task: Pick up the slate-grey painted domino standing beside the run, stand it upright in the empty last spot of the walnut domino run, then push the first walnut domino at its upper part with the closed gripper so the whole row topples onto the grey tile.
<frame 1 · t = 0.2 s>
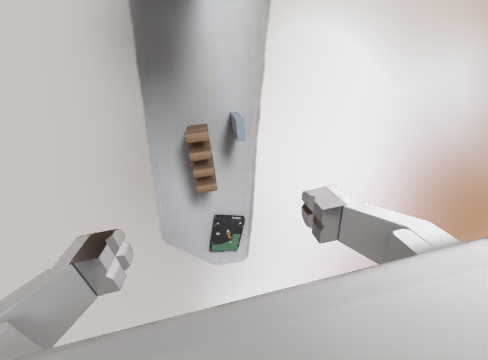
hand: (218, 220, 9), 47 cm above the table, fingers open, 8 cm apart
domino 4: (206, 172, 59), on the table
disk drive: (226, 230, 71), on the table
domino 1: (198, 128, 52), on the table
domino 3: (203, 158, 57), on the table
end domino: (234, 121, 53), on the table
domino 2: (201, 144, 55), on the table
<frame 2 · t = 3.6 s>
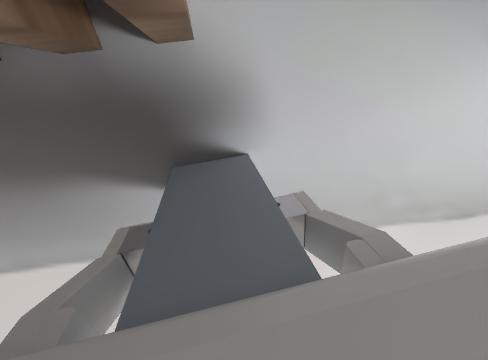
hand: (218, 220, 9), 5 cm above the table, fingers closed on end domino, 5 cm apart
end domino: (213, 172, 13), on the table, touching gripper
when the fingers open (6 cm above the table, at t = 10.1 s): end domino stays where it is, on the table.
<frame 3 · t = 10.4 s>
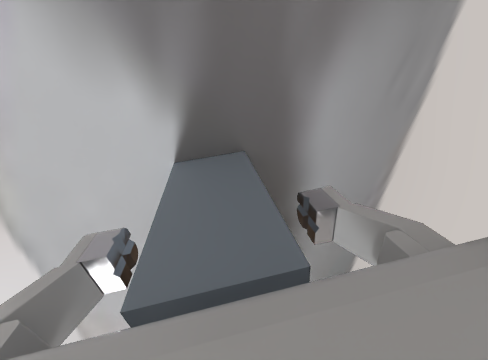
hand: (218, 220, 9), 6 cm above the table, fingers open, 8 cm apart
end domino: (212, 168, 14), on the table
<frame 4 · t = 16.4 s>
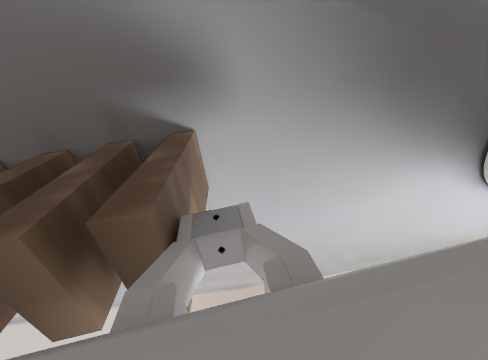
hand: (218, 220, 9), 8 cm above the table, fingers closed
domino 1: (191, 163, 16), on the table, tilted 5°
domino 3: (74, 182, 15), on the table
domino 2: (134, 172, 15), on the table
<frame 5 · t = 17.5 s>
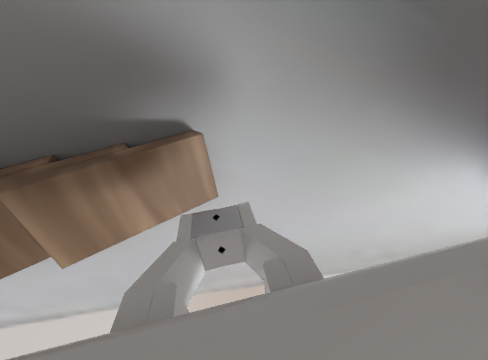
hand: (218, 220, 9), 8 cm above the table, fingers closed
domino 1: (206, 164, 15), point 1 cm above the table, tilted 67°, touching domino 2
domino 3: (73, 190, 14), point 1 cm above the table, tilted 66°, touching domino 2, domino 4
domino 2: (141, 177, 14), point 1 cm above the table, tilted 66°, touching domino 1, domino 3
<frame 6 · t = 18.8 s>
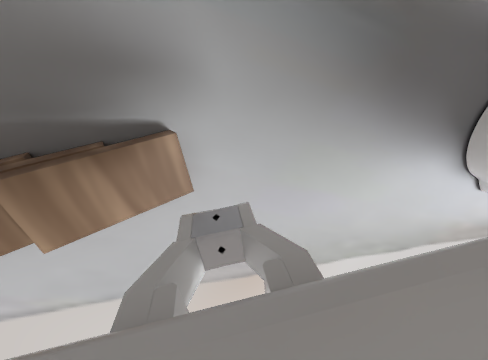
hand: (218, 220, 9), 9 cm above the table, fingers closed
domino 1: (182, 161, 16), point 1 cm above the table, tilted 68°, touching domino 2
domino 2: (117, 173, 16), point 1 cm above the table, tilted 66°, touching domino 1, domino 3
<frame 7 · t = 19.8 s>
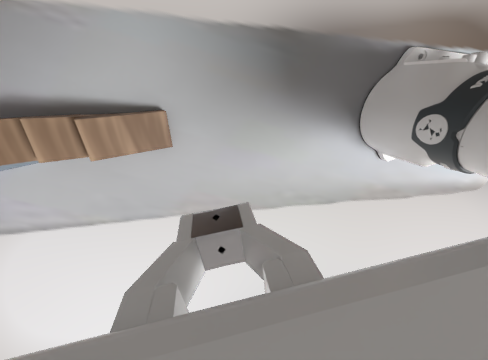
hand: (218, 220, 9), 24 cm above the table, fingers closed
domino 1: (167, 128, 29), point 1 cm above the table, tilted 68°, touching domino 2
domino 3: (86, 133, 27), point 1 cm above the table, tilted 65°, touching domino 2, domino 4
domino 2: (129, 132, 28), point 1 cm above the table, tilted 66°, touching domino 1, domino 3
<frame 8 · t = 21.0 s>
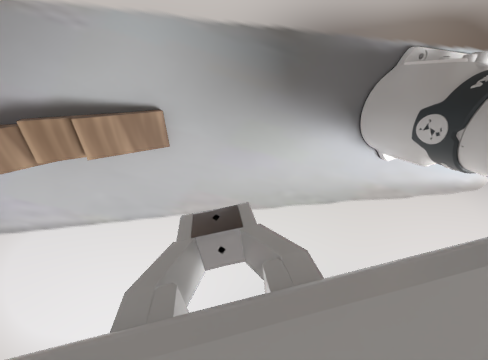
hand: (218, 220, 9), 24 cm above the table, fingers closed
domino 1: (165, 128, 29), point 1 cm above the table, tilted 70°, touching domino 2
domino 3: (70, 137, 27), point 1 cm above the table, tilted 61°, touching domino 2, domino 4
domino 2: (125, 132, 28), point 1 cm above the table, tilted 69°, touching domino 1, domino 3
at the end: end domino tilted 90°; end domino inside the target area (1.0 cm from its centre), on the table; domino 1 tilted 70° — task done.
